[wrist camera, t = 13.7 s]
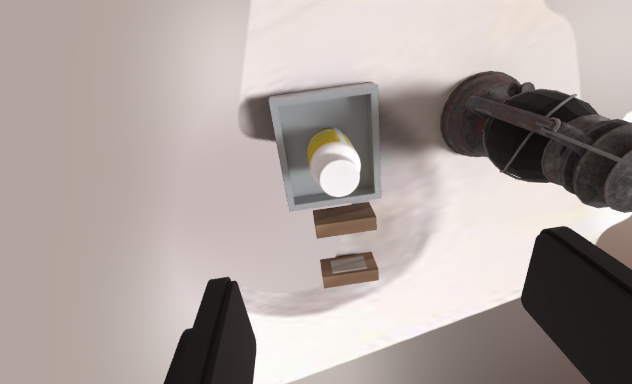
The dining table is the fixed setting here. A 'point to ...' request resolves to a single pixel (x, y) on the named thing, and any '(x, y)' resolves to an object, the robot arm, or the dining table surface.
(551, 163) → the lantern
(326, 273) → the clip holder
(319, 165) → the supplement bottle
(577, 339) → the robot arm
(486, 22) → the dining table surface
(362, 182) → the tray
